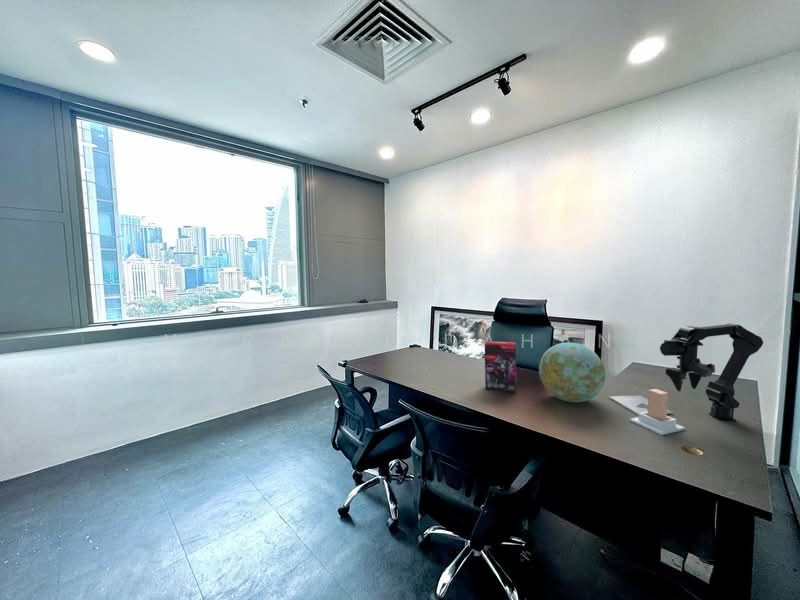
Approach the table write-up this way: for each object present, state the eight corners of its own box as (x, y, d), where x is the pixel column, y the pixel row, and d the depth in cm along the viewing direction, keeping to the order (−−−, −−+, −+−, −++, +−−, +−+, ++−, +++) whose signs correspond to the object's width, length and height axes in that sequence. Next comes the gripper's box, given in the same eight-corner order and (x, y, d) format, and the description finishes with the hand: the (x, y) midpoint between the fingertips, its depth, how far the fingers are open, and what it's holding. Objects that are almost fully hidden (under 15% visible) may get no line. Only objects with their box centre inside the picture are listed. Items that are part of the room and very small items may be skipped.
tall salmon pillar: (654, 419, 140) (655, 388, 139) (666, 424, 135) (667, 392, 134) (647, 421, 139) (648, 389, 138) (659, 426, 134) (660, 394, 133)
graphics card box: (484, 390, 183) (484, 343, 181) (485, 385, 190) (485, 340, 187) (516, 392, 178) (516, 344, 175) (516, 388, 184) (516, 341, 182)
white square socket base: (652, 416, 145) (652, 407, 145) (684, 429, 133) (685, 420, 133) (630, 420, 142) (630, 412, 141) (661, 435, 129) (662, 425, 129)
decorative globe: (556, 385, 187) (557, 334, 184) (614, 401, 163) (616, 343, 160) (527, 398, 169) (527, 343, 166) (587, 418, 145) (589, 353, 142)
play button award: (640, 395, 167) (673, 412, 147) (639, 398, 167) (673, 415, 147) (609, 396, 166) (638, 413, 146) (609, 399, 166) (638, 416, 147)
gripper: (694, 362, 130) (692, 399, 131) (725, 357, 135) (723, 393, 136) (665, 355, 141) (663, 390, 142) (695, 351, 146) (693, 385, 147)
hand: (686, 389), depth 142 cm, fingers open, 9 cm apart
